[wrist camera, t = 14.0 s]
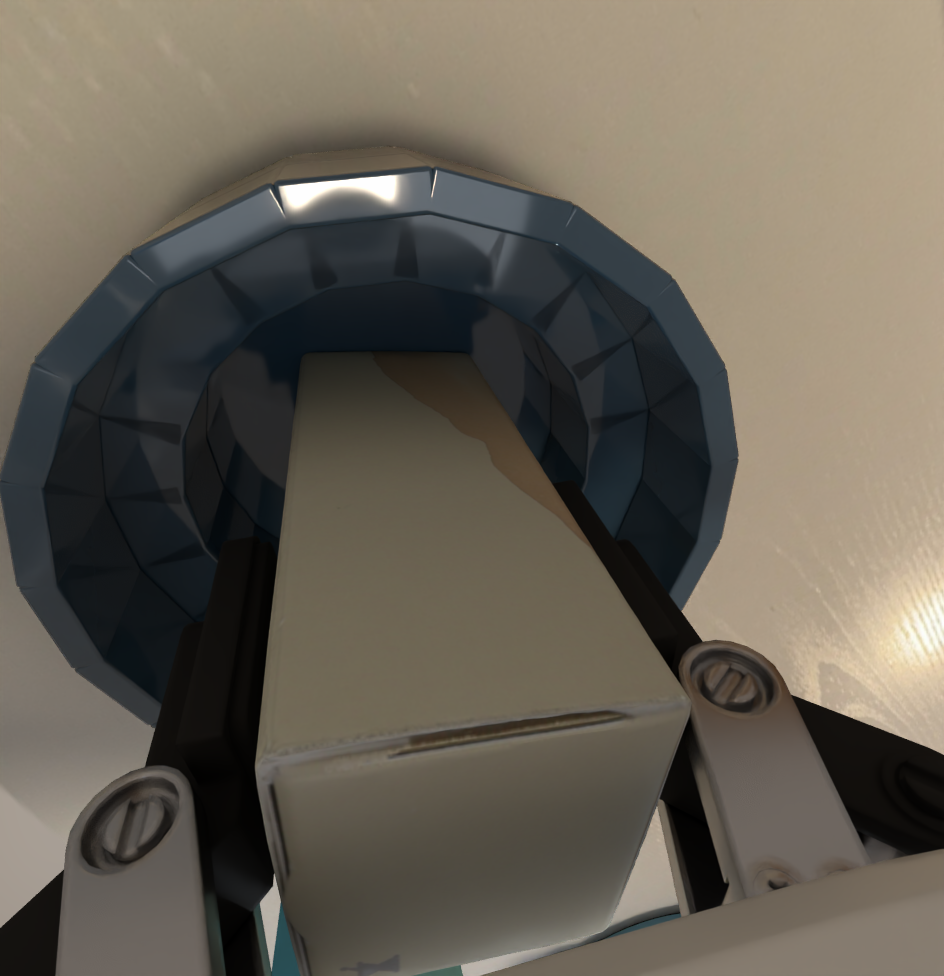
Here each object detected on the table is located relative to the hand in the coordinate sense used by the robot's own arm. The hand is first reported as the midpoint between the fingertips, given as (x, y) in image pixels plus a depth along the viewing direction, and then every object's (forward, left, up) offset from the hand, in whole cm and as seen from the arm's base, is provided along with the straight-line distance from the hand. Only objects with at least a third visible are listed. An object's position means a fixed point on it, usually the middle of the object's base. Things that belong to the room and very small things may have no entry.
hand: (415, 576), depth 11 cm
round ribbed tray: (0, 0, -6) cm, 6 cm away
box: (0, 0, -6) cm, 6 cm away
